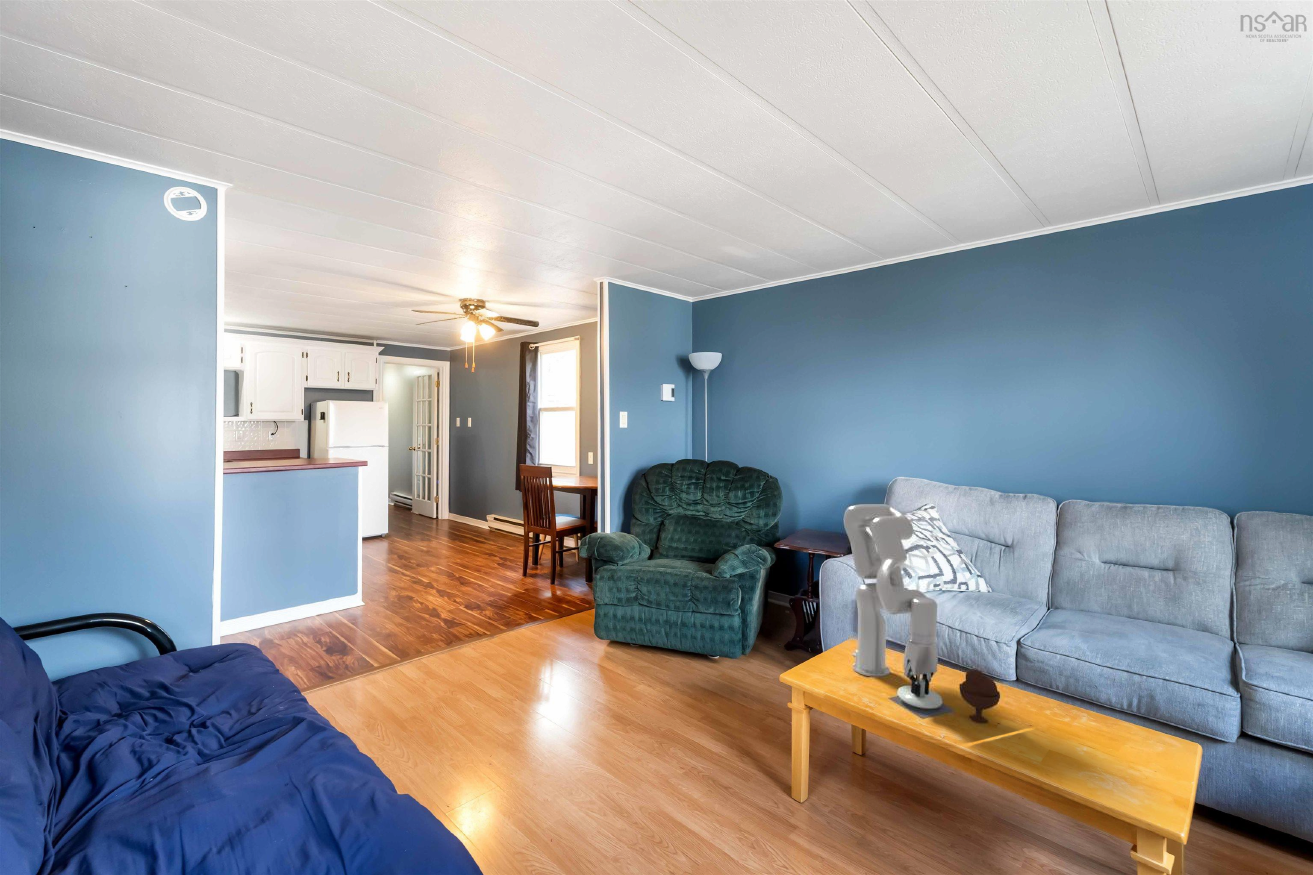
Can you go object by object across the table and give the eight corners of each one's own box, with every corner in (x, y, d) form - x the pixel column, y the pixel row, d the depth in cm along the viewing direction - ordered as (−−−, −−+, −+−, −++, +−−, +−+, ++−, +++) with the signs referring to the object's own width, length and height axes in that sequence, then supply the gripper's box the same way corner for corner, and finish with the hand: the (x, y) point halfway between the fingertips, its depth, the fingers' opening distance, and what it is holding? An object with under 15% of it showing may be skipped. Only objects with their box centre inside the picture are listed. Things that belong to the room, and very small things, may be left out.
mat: (887, 699, 186) (887, 697, 186) (921, 693, 192) (921, 691, 192) (922, 720, 173) (922, 718, 173) (956, 712, 179) (956, 710, 178)
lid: (888, 691, 187) (889, 674, 187) (919, 685, 192) (919, 668, 192) (919, 711, 175) (920, 692, 175) (951, 704, 180) (952, 686, 179)
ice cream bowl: (958, 724, 171) (959, 674, 171) (958, 708, 181) (959, 661, 181) (1000, 734, 166) (1001, 682, 166) (997, 717, 176) (999, 668, 176)
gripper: (932, 629, 189) (929, 684, 190) (893, 635, 183) (890, 692, 184) (951, 638, 182) (948, 695, 183) (911, 644, 176) (909, 703, 177)
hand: (919, 693), depth 183 cm, fingers closed on lid, 2 cm apart
